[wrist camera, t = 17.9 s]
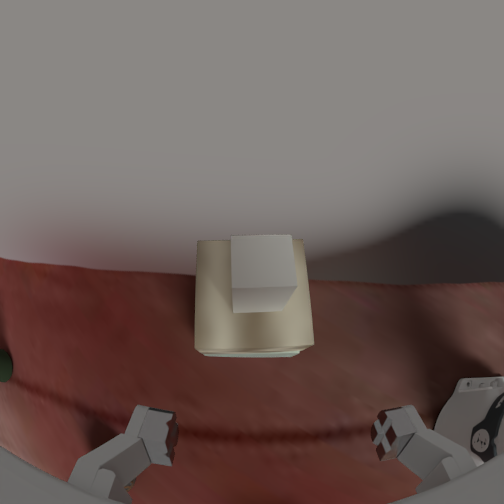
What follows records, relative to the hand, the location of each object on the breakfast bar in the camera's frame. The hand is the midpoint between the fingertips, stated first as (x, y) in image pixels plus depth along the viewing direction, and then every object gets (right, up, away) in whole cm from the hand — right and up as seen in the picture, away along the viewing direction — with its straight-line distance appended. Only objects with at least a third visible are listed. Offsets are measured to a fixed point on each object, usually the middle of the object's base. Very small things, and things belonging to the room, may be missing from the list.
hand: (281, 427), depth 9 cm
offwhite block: (-1, +3, +20) cm, 20 cm away
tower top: (-1, 0, +26) cm, 26 cm away
